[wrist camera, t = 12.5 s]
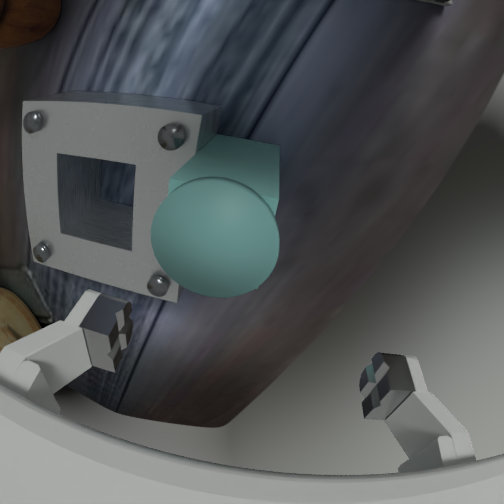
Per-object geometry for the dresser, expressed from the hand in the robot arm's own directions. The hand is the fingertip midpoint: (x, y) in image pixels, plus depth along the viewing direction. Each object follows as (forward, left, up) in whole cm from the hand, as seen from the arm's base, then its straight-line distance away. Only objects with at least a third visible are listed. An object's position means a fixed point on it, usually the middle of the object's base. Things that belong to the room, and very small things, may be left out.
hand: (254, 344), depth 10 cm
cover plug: (0, -2, -18) cm, 18 cm away
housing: (+2, -12, -18) cm, 22 cm away
